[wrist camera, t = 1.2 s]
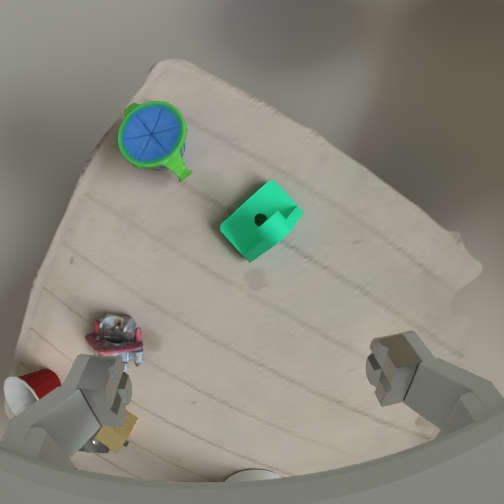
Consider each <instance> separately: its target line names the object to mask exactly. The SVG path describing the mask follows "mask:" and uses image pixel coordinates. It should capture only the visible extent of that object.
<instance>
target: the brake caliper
mask: <svg viewBox="0 0 504 504" xmlns="http://www.w3.org/2000/svg"><path fill="white" fill-rule="evenodd" d="M85 339H86V340H87V342H88V343H89V344H90V345H91V346H92V347H93V349H94V352H95V355H101V356H118V357H121V358H122V360H123V362H124V364H125V367H124V370H123V371H124V372H125V373H126V372H127V369H128V363H127V361H128V360H133V361H134V362H135V365H136V366H138V367H139V366H140V364H141V362H142V355H143V342H142V340H141V328H139V327H138V328H136V324H135V322H134V320H133V318H132V317H129V316H121V315H115V314H112V313H107V314H106V315H105V317H104V318H101V319H100V321H98V320H95V331H94V332H93V333H92V334H88V335H86V336H85Z"/></svg>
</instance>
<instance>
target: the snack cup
mask: <svg viewBox="0 0 504 504" xmlns="http://www.w3.org/2000/svg"><path fill="white" fill-rule="evenodd" d="M124 112H125V118H124V120H123V121H122V123H121V125H120V128H119V131H118V139H117V143H118V146H119V149H120V152H121V154H122V155H123V157H124V158H125V159H126V160H127V161H128V162H130V163H131V164H133V165H134V166H135V167H137V168H152V169H157V170H166V169H170V170H171V171H172V172H173V173H175V174H176V175H177V176H178V177H179V182H181V181H183V180H184V179H185V178H187V177H188V176H189V175H190V174H191V173H192V172H193V171H190V170H188V169H187V167H186V165H185V163H184V161H183V159H182V156H183V154H184V150H185V138H186V132H187V124H186V123H185V121H184V118H183V116H182V114H181V113H180V112H179V110H178V109H177V108H175V107H174V106H173V105H171V104H169V103H167V102H162V101H151V102H147V103H143V104H141V105H139V104H137V103H133V104H132V105H130V106H129V107H128V108H127V109H126V110H125V111H124Z"/></svg>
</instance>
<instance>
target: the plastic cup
mask: <svg viewBox="0 0 504 504" xmlns="http://www.w3.org/2000/svg"><path fill="white" fill-rule="evenodd" d="M58 386H59V387H61V383H60V380H59V378H58V377H57V375H56V374H55V373H54V372H53V371H51V370H49V369H42V370H40V371H37V372H33V373H30V374H27V375H24V376H19V377H14V376H9V377H8V378H7V379H6V380H5V382H4V386H3V388H4V396H5V398H6V401H7V403H8V405H9V407H10V409H11V410H12V412H13V413H14V414H15V416H17V415H18V414H19V413H21V412H22V411H24V410H25V409H27V408H28V407H30V406H31V405H32V404H34V403H35V402H37V401H38V400H40V399H41V398H43V397H44V396H45V395H47V394H48V393H50V392H51V391H53V390H54V389H56V388H57V387H58Z"/></svg>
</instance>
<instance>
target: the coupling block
mask: <svg viewBox="0 0 504 504" xmlns="http://www.w3.org/2000/svg"><path fill="white" fill-rule="evenodd" d="M137 419H138V418H137V417H136V416H134V415H133V414H131V413H130V412H128V411H127V416H126V420H125V424H124V427H113V426H101V425H100V426H101V427H100V428H99V429H100V430H99V432H98V434H97V435H96V437H95V439H97V440H98V441H100V442H101V443H103V444H104V445H106V446H107V447H109V448H110V449H112V450H113V451H115V452H116V453H117V452H118V451H119V449H120V448H121V446H122V445H124V446H127V445H128V443H129V442H128V441H127V440H126V439H127V438H128V436H129V434H130V432H131V430H132V428H133V426H134V424H135V422H136V421H137Z"/></svg>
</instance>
